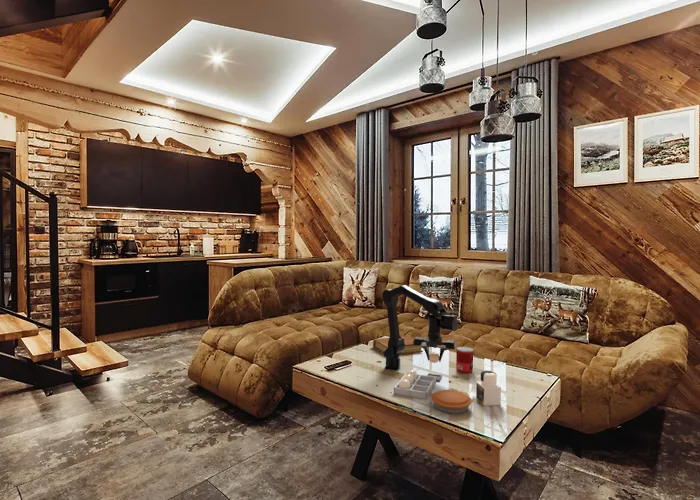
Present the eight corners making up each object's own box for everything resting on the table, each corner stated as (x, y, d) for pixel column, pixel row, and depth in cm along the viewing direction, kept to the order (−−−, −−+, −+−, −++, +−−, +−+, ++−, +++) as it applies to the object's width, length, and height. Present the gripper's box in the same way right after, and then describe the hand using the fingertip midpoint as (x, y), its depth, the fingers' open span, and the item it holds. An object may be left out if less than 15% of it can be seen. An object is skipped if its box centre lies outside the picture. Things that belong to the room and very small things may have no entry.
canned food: (473, 374, 189) (474, 351, 189) (456, 372, 191) (457, 350, 191) (472, 368, 197) (472, 347, 197) (455, 367, 198) (456, 346, 198)
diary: (406, 344, 244) (406, 335, 244) (422, 353, 226) (423, 343, 226) (373, 347, 235) (373, 338, 235) (387, 356, 218) (387, 346, 218)
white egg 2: (401, 386, 171) (401, 375, 171) (404, 382, 175) (404, 372, 175) (412, 388, 169) (412, 377, 169) (415, 384, 173) (415, 373, 173)
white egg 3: (397, 392, 165) (397, 380, 165) (400, 388, 169) (400, 377, 169) (408, 393, 163) (408, 382, 163) (411, 389, 167) (411, 378, 167)
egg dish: (425, 379, 181) (425, 377, 181) (428, 375, 187) (428, 373, 187) (439, 381, 179) (439, 379, 179) (441, 377, 185) (441, 375, 184)
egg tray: (393, 393, 164) (393, 387, 164) (406, 378, 183) (406, 372, 183) (426, 399, 159) (426, 392, 159) (435, 382, 178) (436, 376, 178)
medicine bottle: (475, 398, 160) (476, 369, 160) (492, 398, 160) (493, 369, 160) (483, 406, 153) (483, 375, 152) (501, 405, 153) (501, 375, 153)
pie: (437, 396, 162) (437, 384, 162) (476, 404, 154) (476, 392, 154) (424, 410, 149) (424, 397, 149) (466, 420, 141) (466, 406, 141)
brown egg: (428, 363, 181) (428, 353, 181) (430, 360, 186) (430, 350, 186) (438, 364, 179) (438, 354, 179) (440, 361, 184) (440, 351, 184)
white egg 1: (405, 381, 177) (405, 371, 177) (408, 378, 181) (408, 367, 181) (415, 383, 175) (416, 372, 175) (418, 379, 180) (418, 369, 179)
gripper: (410, 329, 178) (410, 363, 179) (452, 333, 171) (452, 369, 171) (416, 324, 189) (415, 357, 189) (456, 328, 181) (455, 361, 182)
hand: (434, 361), depth 182 cm, fingers closed on brown egg, 5 cm apart
